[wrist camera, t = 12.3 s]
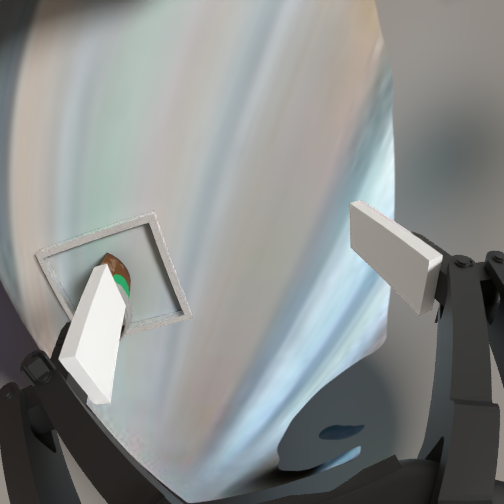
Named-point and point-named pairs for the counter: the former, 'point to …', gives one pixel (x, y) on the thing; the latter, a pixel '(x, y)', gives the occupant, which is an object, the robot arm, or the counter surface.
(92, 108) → the counter surface
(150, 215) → the grey square frame
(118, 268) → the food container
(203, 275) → the counter surface
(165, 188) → the counter surface
